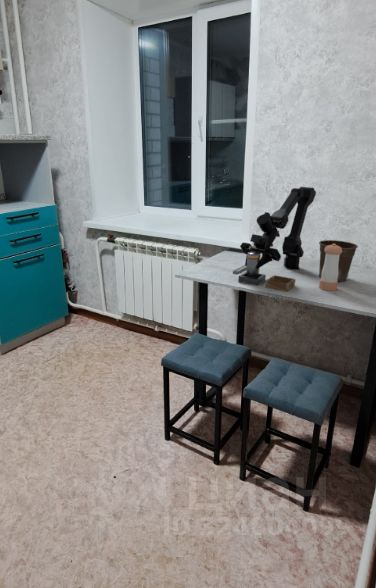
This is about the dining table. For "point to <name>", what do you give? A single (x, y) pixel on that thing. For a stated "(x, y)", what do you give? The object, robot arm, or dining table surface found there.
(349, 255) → the plant pot
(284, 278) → the wooden square frame
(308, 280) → the dining table surface
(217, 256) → the dining table surface
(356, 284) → the dining table surface
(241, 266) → the adjustable wrench
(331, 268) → the pepper shaker
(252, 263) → the brass-banded metal cylinder
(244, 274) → the socket block
